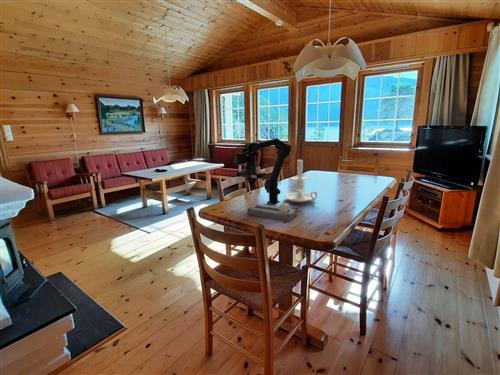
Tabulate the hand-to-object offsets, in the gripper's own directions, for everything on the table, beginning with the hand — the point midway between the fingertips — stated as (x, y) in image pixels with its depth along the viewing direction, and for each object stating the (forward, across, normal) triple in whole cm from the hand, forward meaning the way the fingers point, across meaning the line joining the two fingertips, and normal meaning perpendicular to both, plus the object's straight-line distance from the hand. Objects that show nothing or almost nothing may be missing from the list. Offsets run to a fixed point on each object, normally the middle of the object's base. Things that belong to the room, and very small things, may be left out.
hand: (251, 188), depth 168 cm
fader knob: (+10, +26, -8) cm, 29 cm away
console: (+12, +18, -8) cm, 23 cm away
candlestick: (+12, +24, +24) cm, 36 cm away
